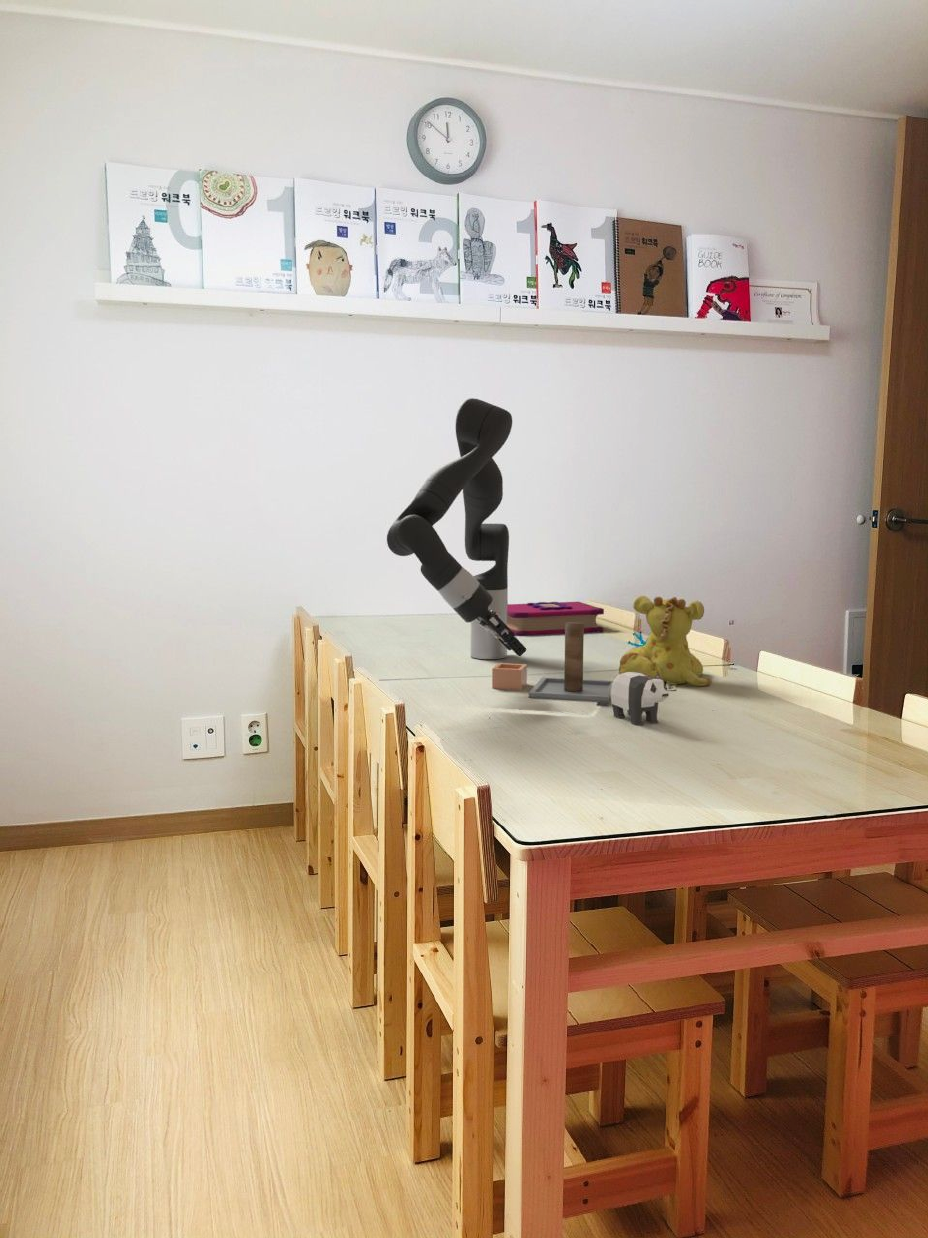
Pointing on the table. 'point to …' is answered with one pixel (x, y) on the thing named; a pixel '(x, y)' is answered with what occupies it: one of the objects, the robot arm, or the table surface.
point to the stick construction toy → (639, 639)
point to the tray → (591, 692)
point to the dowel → (573, 657)
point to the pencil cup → (509, 676)
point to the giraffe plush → (666, 643)
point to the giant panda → (637, 696)
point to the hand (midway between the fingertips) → (518, 650)
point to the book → (551, 617)
